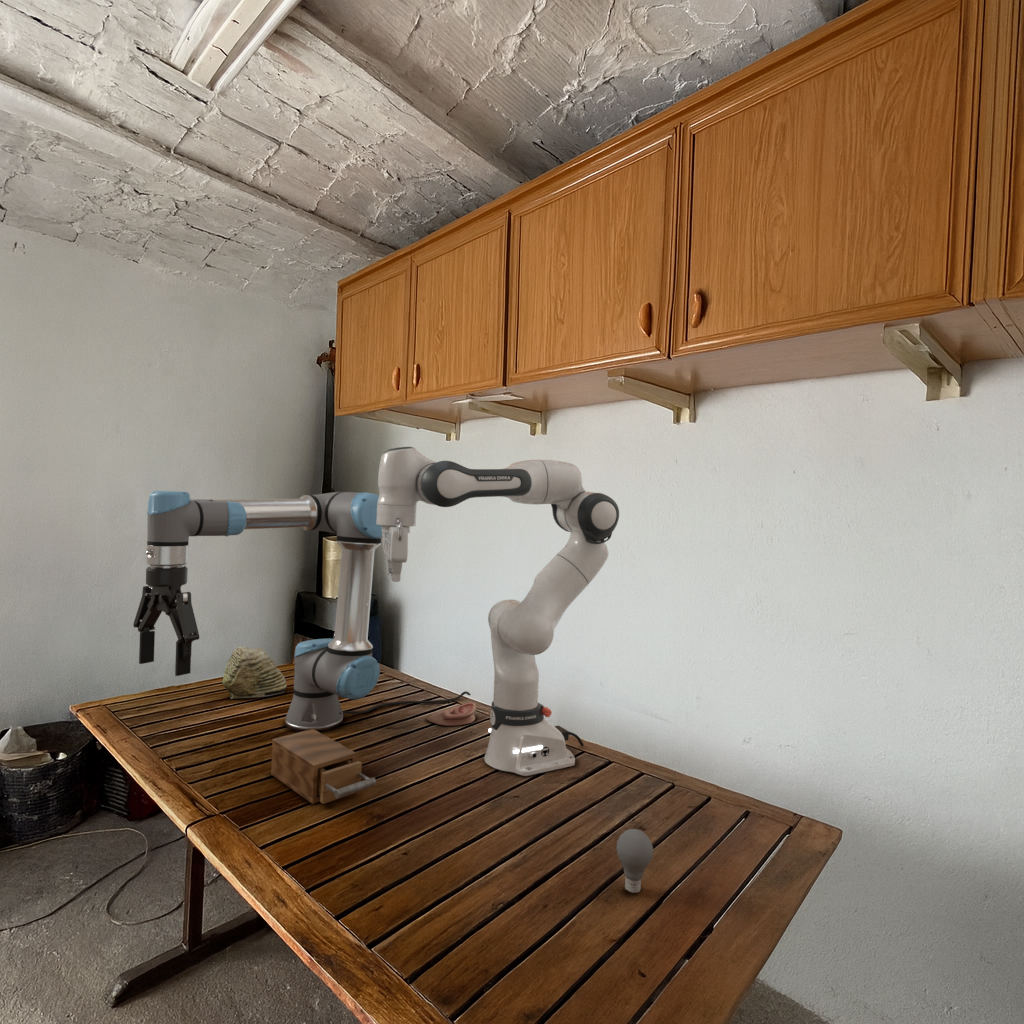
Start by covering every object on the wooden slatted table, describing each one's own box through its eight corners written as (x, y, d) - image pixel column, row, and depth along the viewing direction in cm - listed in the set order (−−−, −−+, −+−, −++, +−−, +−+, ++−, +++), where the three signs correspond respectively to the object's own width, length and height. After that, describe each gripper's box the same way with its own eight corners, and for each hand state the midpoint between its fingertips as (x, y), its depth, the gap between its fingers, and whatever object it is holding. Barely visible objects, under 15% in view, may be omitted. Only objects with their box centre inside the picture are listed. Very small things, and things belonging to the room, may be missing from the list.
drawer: (375, 800, 131) (376, 770, 131) (337, 814, 125) (338, 783, 125) (319, 764, 147) (320, 738, 147) (282, 775, 141) (283, 748, 141)
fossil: (218, 695, 195) (220, 647, 195) (278, 685, 208) (279, 640, 207) (228, 703, 189) (230, 653, 188) (289, 692, 201) (290, 645, 201)
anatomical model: (423, 709, 179) (436, 697, 190) (423, 723, 179) (436, 710, 190) (469, 714, 176) (479, 702, 188) (468, 728, 177) (478, 715, 188)
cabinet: (354, 789, 138) (356, 752, 138) (312, 804, 130) (314, 765, 130) (311, 762, 151) (313, 728, 150) (271, 774, 143) (272, 739, 143)
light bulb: (610, 879, 108) (613, 822, 108) (644, 879, 109) (647, 822, 109) (619, 902, 102) (622, 840, 102) (655, 901, 103) (658, 840, 103)
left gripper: (116, 561, 134) (114, 661, 134) (183, 573, 120) (180, 683, 121) (152, 559, 140) (150, 654, 140) (220, 570, 127) (216, 675, 127)
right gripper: (415, 520, 135) (413, 585, 135) (405, 516, 154) (403, 573, 155) (385, 519, 133) (383, 584, 133) (379, 515, 153) (376, 572, 153)
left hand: (164, 668), depth 131 cm, fingers open, 13 cm apart
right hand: (393, 578), depth 144 cm, fingers open, 8 cm apart
